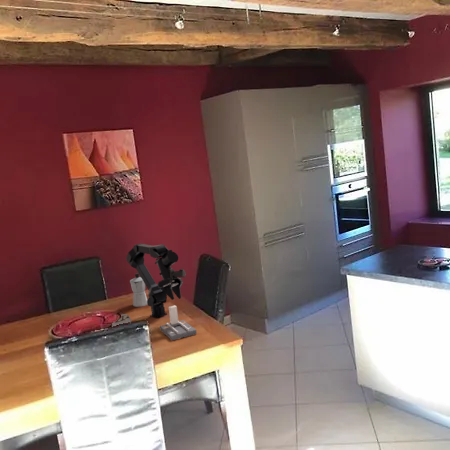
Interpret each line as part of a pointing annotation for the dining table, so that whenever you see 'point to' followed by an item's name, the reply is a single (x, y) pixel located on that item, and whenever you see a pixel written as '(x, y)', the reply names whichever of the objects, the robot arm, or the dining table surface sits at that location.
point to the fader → (173, 316)
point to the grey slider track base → (178, 330)
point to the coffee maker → (138, 291)
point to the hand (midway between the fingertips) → (176, 299)
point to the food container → (122, 320)
